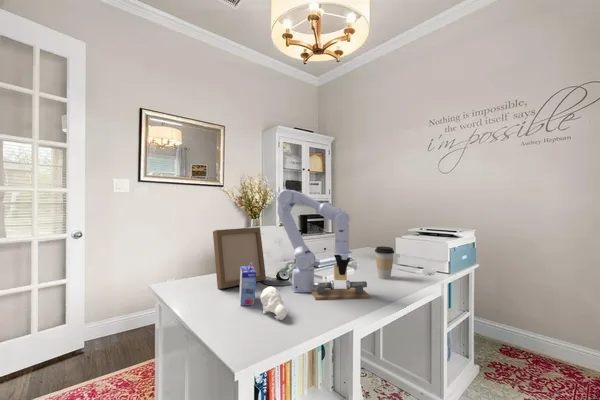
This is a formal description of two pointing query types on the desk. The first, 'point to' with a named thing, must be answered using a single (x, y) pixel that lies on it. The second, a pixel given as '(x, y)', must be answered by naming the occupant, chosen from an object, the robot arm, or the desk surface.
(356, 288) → the stand
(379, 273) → the coffee cup
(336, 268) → the block
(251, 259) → the photo frame
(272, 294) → the white sculpted piece
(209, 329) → the desk surface
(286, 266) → the metal bracket
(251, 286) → the ink cartridge box
